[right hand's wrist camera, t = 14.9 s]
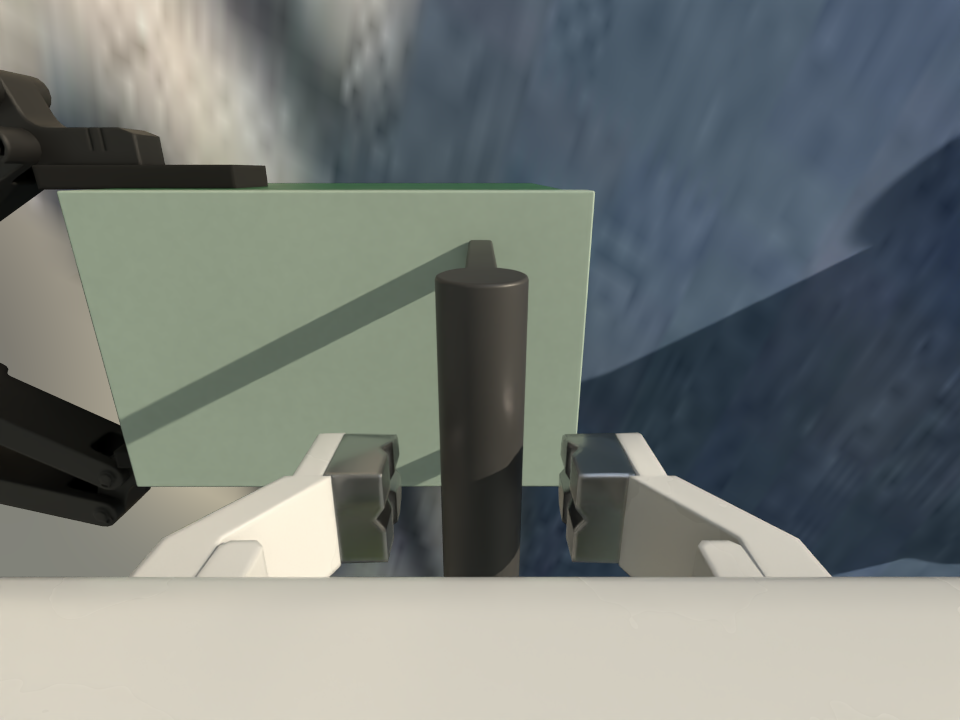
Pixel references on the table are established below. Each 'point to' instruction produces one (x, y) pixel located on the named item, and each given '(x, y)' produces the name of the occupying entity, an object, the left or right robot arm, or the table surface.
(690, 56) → the table surface
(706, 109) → the table surface
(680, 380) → the table surface
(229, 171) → the left robot arm
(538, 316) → the lid
